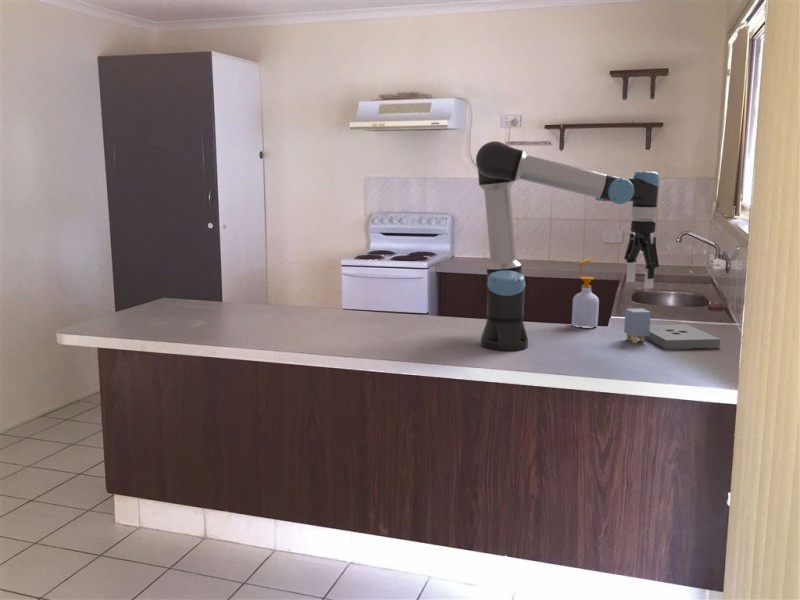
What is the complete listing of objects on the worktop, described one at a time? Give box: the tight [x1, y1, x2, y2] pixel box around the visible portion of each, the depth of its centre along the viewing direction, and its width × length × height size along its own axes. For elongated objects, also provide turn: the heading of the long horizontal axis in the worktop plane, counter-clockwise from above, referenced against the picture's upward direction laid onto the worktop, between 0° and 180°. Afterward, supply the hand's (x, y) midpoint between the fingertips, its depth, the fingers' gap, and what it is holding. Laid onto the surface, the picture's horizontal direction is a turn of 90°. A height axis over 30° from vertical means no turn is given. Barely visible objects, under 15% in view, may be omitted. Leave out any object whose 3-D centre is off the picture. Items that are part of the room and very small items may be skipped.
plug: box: [623, 307, 652, 344], centre depth 242 cm, size 6×6×10 cm
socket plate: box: [645, 323, 721, 350], centre depth 244 cm, size 18×22×3 cm
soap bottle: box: [571, 258, 600, 328], centre depth 263 cm, size 9×9×25 cm
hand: (639, 285), depth 240 cm, fingers open, 13 cm apart
